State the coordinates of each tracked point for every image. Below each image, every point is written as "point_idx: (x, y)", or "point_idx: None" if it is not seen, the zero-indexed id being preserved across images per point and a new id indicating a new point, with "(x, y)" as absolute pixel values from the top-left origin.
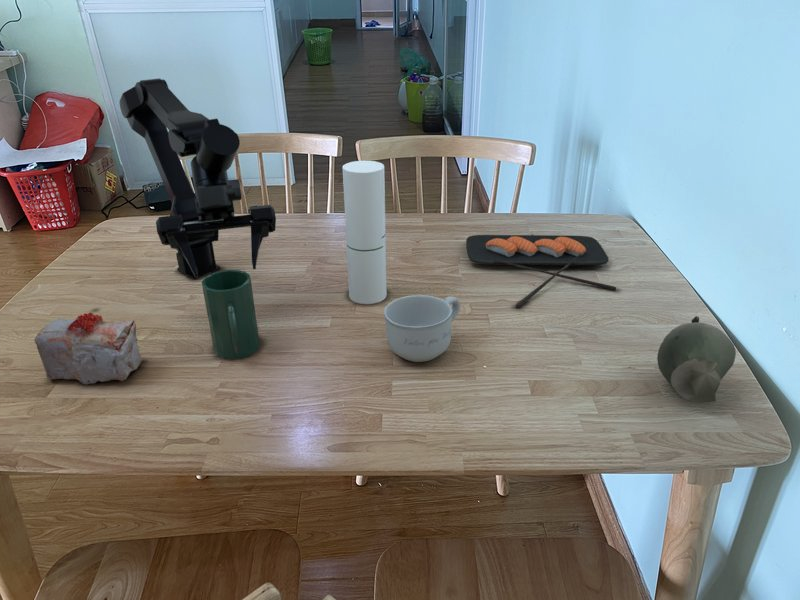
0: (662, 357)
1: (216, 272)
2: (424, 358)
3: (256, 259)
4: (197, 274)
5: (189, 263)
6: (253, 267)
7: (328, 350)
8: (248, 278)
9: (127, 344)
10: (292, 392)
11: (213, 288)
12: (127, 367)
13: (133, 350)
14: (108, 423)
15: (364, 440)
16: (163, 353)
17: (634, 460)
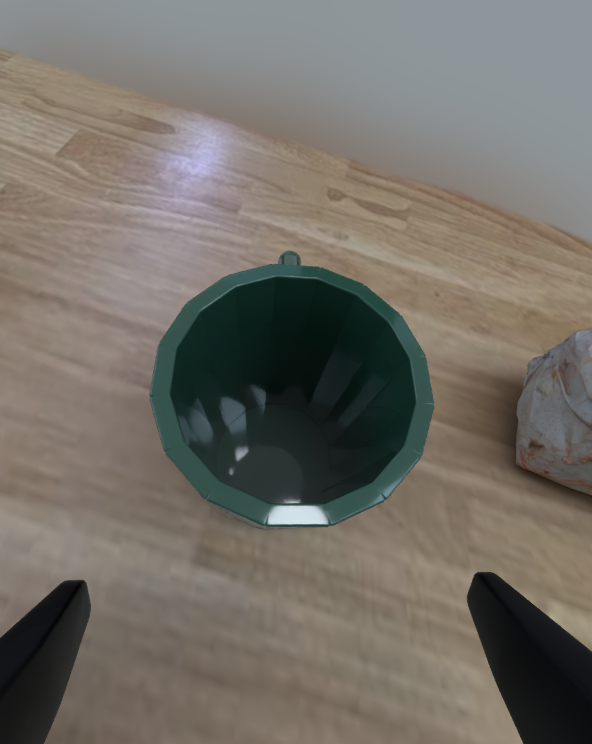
0: None
1: (355, 507)
2: None
3: (7, 632)
4: (476, 605)
5: (586, 647)
6: (83, 581)
7: (42, 359)
8: (169, 351)
9: (582, 353)
10: (185, 250)
11: (361, 478)
12: (540, 358)
13: (554, 395)
14: (510, 283)
15: (115, 125)
16: (469, 493)
17: None
